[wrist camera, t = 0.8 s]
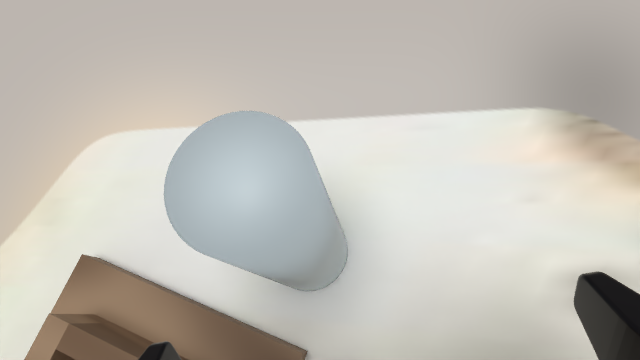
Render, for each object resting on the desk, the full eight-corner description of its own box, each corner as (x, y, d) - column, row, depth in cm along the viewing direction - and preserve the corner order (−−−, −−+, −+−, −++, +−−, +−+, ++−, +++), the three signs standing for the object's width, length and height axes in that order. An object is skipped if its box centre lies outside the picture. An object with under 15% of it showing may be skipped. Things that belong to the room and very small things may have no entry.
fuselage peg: (330, 303, 23) (277, 284, 11) (257, 273, 25) (137, 226, 12) (358, 227, 25) (339, 136, 12) (288, 202, 26) (205, 94, 13)
